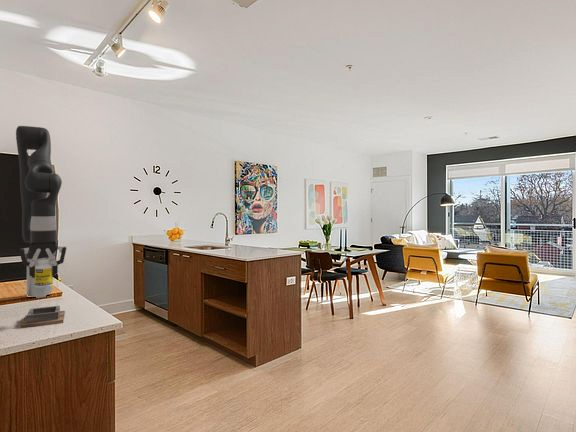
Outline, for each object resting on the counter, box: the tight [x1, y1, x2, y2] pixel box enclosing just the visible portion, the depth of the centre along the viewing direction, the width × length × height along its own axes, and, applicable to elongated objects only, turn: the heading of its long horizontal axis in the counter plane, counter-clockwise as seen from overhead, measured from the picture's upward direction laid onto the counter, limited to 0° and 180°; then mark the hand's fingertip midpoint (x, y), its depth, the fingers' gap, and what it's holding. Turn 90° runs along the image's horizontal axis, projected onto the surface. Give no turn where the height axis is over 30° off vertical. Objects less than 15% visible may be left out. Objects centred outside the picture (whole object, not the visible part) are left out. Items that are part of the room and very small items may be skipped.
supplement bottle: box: [34, 258, 54, 288], centre depth 123 cm, size 5×5×10 cm
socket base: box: [19, 305, 66, 329], centre depth 124 cm, size 12×12×4 cm
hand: (43, 276), depth 123 cm, fingers closed on supplement bottle, 5 cm apart
